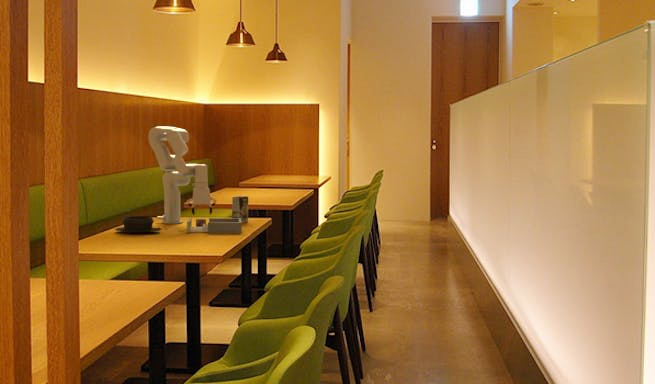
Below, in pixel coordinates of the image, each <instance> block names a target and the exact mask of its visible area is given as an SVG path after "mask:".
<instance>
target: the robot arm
mask: <svg viewBox="0 0 655 384" xmlns="http://www.w3.org/2000/svg"><path fill="white" fill-rule="evenodd" d="M163 141H165V142H166V141H168V144H169V145H170V147H171V150H172V151H173V152H174V154H171V153H170V149H169V147H168V146H167V145H166V144H165V143H164V142H163ZM189 141H190V135H189V132H188V131H187V130H186V129H183V128H179V127H175V126H155V127H152V128H151V129H150V130H149V132H148V143H149V145H150V147H151V149H152V150H153V152H154V154H155V157H156V159H157V162H158V166H159V167H160V169H161V170H162V171H164V173H163V175H162V185H163V191H164V193H163V194H164V199H163V200H164V201H163V203H164V208H163V209H164V214H163V215H162V216H161V215H159V216H158V215H157V216H156V219H157V220H161V223H162V224H166V225H167V224H168V225H170V224H172V225H173V224H183V223H184V220H182V219H181V191H180V189H179V187H184V186H185V187H186V186H187V185H189V183H190V182H191V178H192V177H194V183H192V184H191V185H192V187H193V189H192V197H191V198H189V199H187V200H186V203H187V205H188V206H189V207H190V208H191V214H192V215H193V216H194V215H196V214H195V207H196V206H209V215H210V216H211V215H212V214H213V207H214V206H215V205H216V203H217V200H218V199H216V198H213V197H211V189H210V187H209V183H208V182H209V180H208V178H209V177H208V176H209V175H208V165H207V164H202V163H201V164H199V163H186V162H185V160H184V158H183V156H185V155H186V154H187V153H188V152H189V147H188V146H187V143H188V142H189ZM165 171H166V172H165ZM211 201H213V203H212V204H211ZM191 202H192V204H191Z"/></svg>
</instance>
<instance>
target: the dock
mask: <svg viewBox="0 0 655 384" xmlns="http://www.w3.org/2000/svg"><path fill="white" fill-rule="evenodd" d="M207 224H208V232H207V234H242V224H243V223H242V222H241V218H232V217H226V218H225V217H224V218H223V217H221V218H220V217H218V218H217V217H212V218H211V217H210V218H208V222H207Z"/></svg>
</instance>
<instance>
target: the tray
mask: <svg viewBox="0 0 655 384" xmlns="http://www.w3.org/2000/svg"><path fill="white" fill-rule="evenodd" d="M192 219H193V218H192V216H191V217H190V216H189V217H188V219H187V221H186V233H187V234H190V233H208V223H206V224H203V227H196V226H192Z"/></svg>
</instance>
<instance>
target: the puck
mask: <svg viewBox="0 0 655 384" xmlns="http://www.w3.org/2000/svg"><path fill="white" fill-rule="evenodd" d="M203 224H207V218H196V219H195V227H203Z"/></svg>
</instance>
